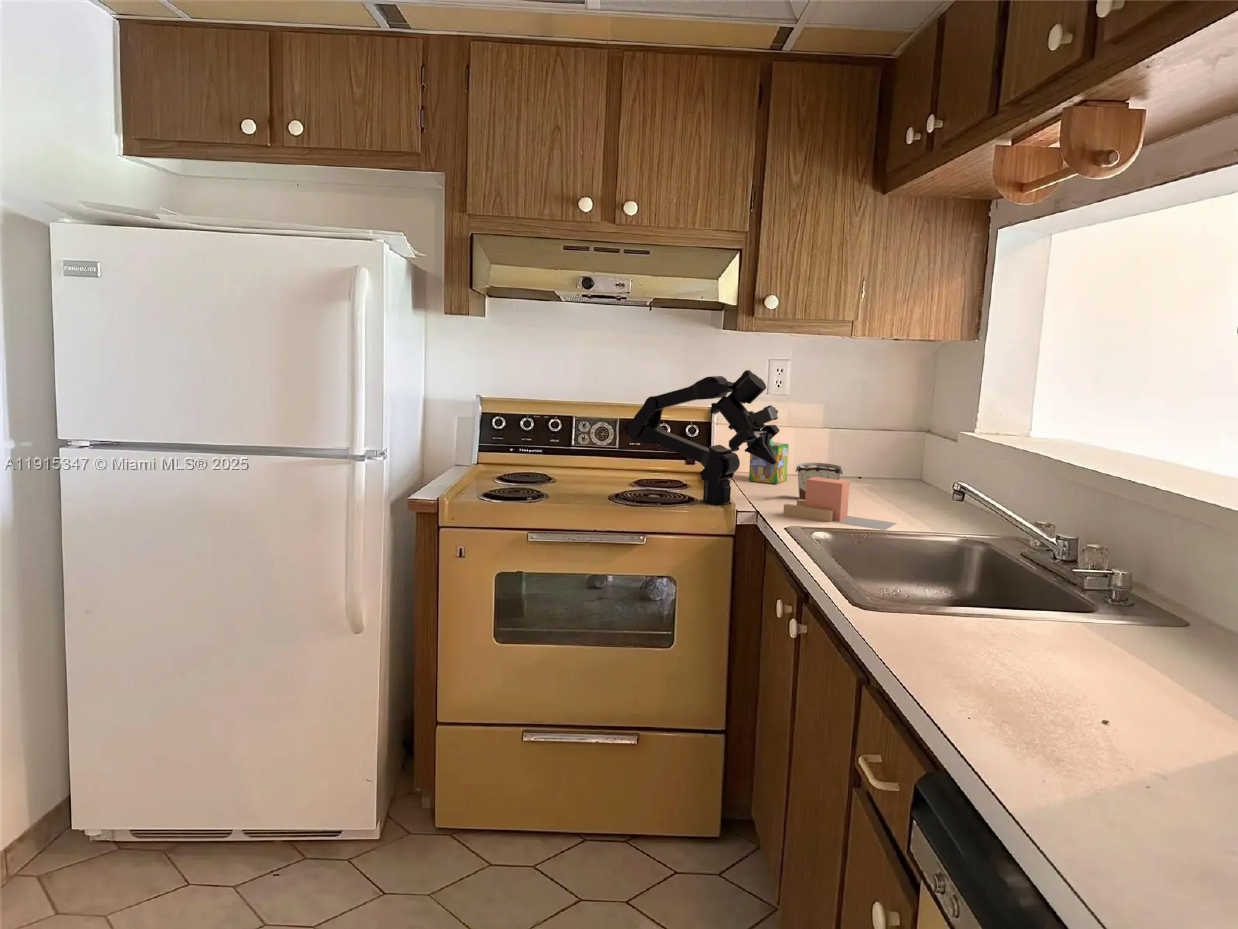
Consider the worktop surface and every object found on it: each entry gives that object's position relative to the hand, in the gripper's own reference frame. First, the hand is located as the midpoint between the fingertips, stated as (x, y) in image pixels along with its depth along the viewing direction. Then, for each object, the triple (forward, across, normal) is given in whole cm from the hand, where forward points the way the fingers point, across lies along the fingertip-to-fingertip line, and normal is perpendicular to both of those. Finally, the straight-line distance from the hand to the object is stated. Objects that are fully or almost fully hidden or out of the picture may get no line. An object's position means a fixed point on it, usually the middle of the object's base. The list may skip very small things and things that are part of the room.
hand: (775, 463), depth 225 cm
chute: (+21, 0, -3) cm, 21 cm away
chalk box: (-6, +42, +23) cm, 48 cm away
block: (+18, 0, -2) cm, 18 cm away
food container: (+11, +22, +7) cm, 25 cm away
